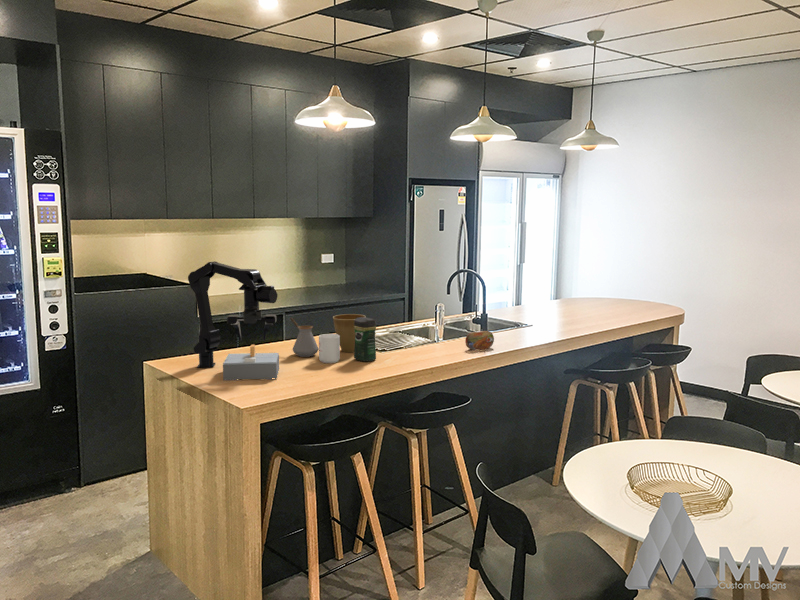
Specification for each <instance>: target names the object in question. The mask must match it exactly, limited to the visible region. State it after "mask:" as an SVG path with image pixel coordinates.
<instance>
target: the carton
mask: <svg viewBox="0 0 800 600" xmlns="http://www.w3.org/2000/svg"><path fill="white" fill-rule="evenodd" d="M278 371H279V372H280V355H278V359H277V363H276V364H237V365H223V364H222V378H223V379H222V380H223V381H238V380H237V379H267V380H273V379H272V378H275V379H274V380H277V379H278V376H277V375H279V372H278ZM276 378H277V379H276Z"/></svg>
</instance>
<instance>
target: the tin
mask: <svg viewBox="0 0 800 600" xmlns="http://www.w3.org/2000/svg"><path fill="white" fill-rule="evenodd" d="M464 342H465V346H466V348H468V349H469V350H471V351H479V350H485V349H487V350H488V349H490V348H491V347H492V346H493V345H494V342H495V336H494V334H493V332H492V331H489V330H481V331H472V332H469V333H468V334H467V335H466V336H465V341H464Z"/></svg>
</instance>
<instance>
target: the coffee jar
mask: <svg viewBox="0 0 800 600" xmlns="http://www.w3.org/2000/svg"><path fill="white" fill-rule="evenodd" d="M354 329H355V348H354V352H353V358H354V360H357V361H360V362H374V361H375V360H376V359H377V350H376V349H377V348H376V347H377V346H376V331H377V321H376V320H375V319H374V318H370V317H366V316H365V317H359V318H356V319H355V321H354Z"/></svg>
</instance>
